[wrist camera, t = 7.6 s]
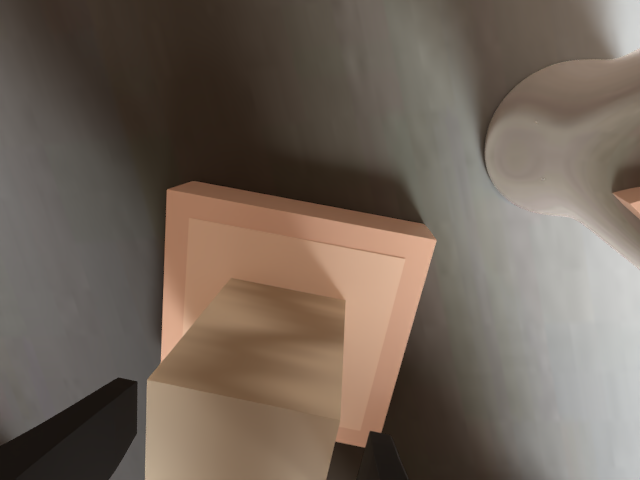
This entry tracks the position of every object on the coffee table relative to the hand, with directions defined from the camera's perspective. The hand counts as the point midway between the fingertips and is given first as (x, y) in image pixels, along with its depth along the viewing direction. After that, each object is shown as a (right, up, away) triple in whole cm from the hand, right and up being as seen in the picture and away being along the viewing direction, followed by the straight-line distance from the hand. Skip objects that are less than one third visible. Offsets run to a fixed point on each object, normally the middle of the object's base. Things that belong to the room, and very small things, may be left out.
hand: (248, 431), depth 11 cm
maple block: (0, +1, +5) cm, 5 cm away
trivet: (+1, +2, +7) cm, 8 cm away
